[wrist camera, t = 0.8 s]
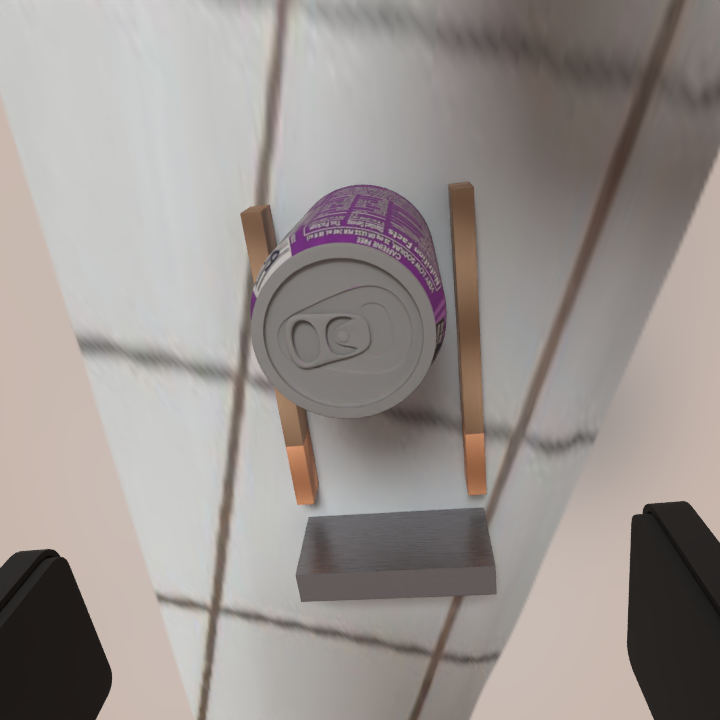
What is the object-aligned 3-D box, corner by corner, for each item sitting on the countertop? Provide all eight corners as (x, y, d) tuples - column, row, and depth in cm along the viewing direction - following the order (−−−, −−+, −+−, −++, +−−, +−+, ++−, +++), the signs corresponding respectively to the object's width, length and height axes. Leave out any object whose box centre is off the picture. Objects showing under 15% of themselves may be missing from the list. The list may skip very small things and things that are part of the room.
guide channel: (250, 206, 30) (222, 225, 25) (468, 182, 28) (481, 196, 24) (313, 542, 38) (301, 601, 33) (484, 533, 37) (496, 594, 32)
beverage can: (311, 326, 32) (263, 441, 21) (283, 195, 29) (212, 247, 18) (440, 309, 31) (461, 419, 20) (424, 172, 28) (438, 212, 17)
